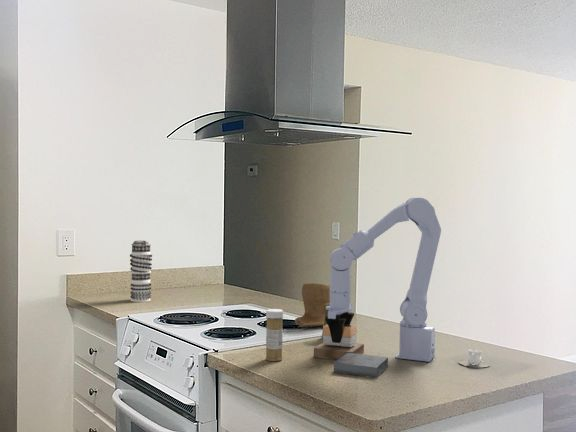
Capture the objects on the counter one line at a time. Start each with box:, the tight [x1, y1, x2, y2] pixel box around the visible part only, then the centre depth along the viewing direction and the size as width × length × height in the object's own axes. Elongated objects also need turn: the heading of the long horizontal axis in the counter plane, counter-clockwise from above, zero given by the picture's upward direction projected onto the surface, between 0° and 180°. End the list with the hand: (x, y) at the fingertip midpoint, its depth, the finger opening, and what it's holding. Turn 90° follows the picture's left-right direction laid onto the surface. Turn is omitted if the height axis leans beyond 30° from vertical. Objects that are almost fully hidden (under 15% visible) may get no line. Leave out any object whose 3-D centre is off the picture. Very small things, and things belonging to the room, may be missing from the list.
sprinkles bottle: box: [265, 308, 284, 362], centre depth 167 cm, size 5×5×13 cm
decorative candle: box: [129, 240, 153, 303], centre depth 262 cm, size 9×9×25 cm
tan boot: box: [294, 282, 330, 329], centre depth 214 cm, size 15×12×15 cm
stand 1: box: [313, 342, 365, 361], centre depth 174 cm, size 11×11×2 cm
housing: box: [322, 324, 357, 347], centre depth 174 cm, size 8×5×5 cm, turn 67°
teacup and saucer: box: [467, 348, 483, 365], centre depth 166 cm, size 9×8×4 cm
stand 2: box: [333, 353, 389, 378], centre depth 159 cm, size 11×11×2 cm
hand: (339, 340), depth 174 cm, fingers closed on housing, 5 cm apart
